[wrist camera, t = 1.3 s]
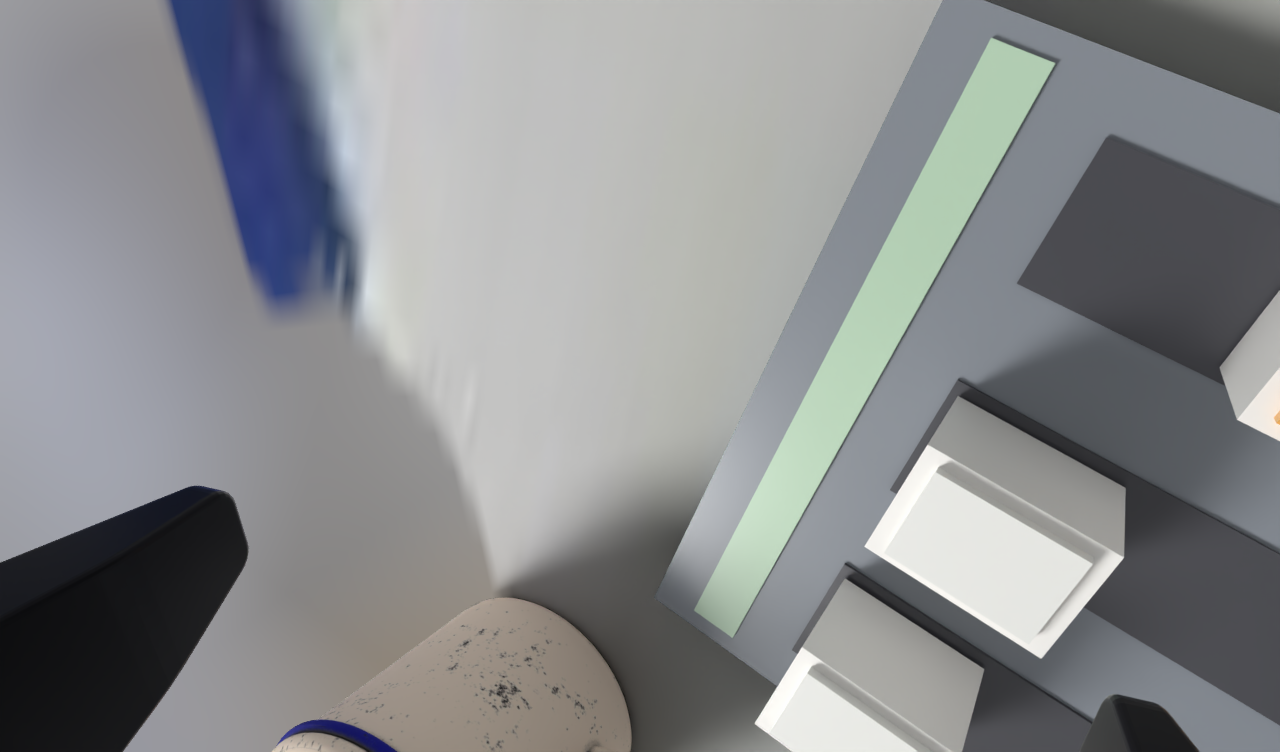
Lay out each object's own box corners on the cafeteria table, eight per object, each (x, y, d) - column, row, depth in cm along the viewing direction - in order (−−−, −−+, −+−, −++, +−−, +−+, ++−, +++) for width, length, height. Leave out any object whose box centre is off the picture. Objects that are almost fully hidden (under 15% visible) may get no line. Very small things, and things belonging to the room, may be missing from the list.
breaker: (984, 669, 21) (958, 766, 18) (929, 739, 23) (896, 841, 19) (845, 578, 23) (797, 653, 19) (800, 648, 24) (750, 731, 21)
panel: (2275, 500, 12) (2409, 545, 11) (1370, 1063, 21) (1386, 1128, 20) (961, -6, 19) (948, -14, 18) (675, 575, 27) (652, 599, 26)
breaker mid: (1125, 487, 19) (1124, 564, 15) (1054, 579, 20) (1040, 667, 17) (958, 395, 20) (924, 449, 17) (901, 486, 21) (860, 552, 18)
